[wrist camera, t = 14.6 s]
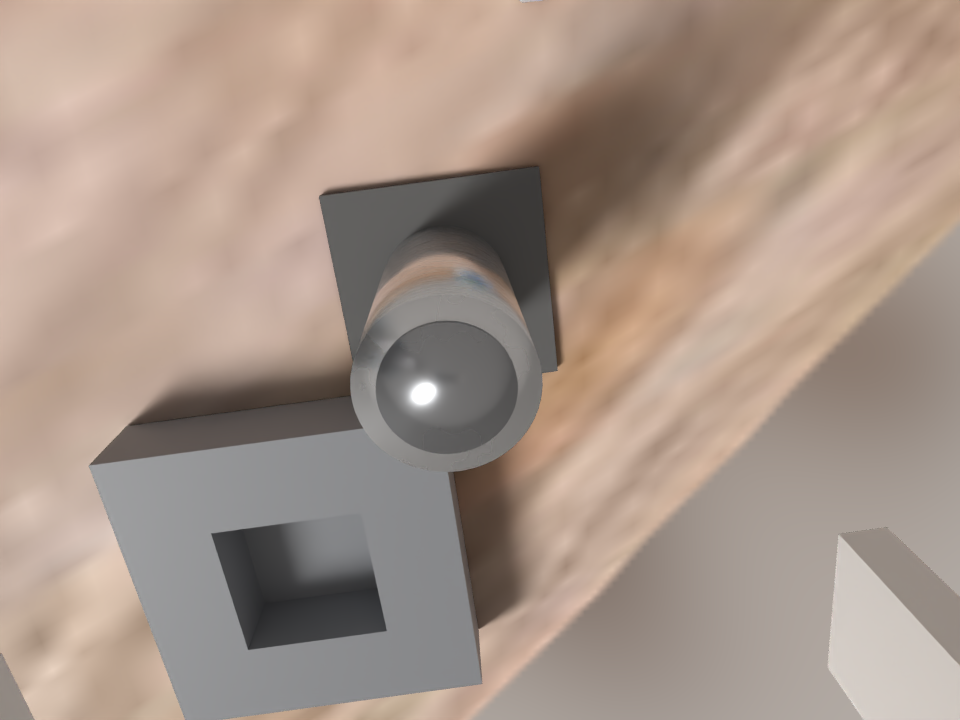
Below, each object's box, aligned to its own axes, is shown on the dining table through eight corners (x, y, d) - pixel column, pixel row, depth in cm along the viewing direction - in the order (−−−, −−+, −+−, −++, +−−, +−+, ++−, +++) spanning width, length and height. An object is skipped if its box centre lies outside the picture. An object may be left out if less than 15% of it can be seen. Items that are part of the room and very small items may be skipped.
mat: (320, 195, 31) (318, 196, 31) (538, 166, 31) (539, 166, 31) (361, 394, 35) (360, 397, 34) (556, 368, 35) (557, 370, 34)
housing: (126, 426, 35) (88, 465, 31) (439, 383, 35) (438, 418, 31) (210, 666, 40) (187, 724, 37) (478, 629, 41) (482, 683, 37)
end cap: (370, 235, 32) (331, 311, 20) (500, 217, 32) (533, 284, 20) (393, 356, 34) (368, 487, 22) (514, 339, 34) (551, 462, 22)
